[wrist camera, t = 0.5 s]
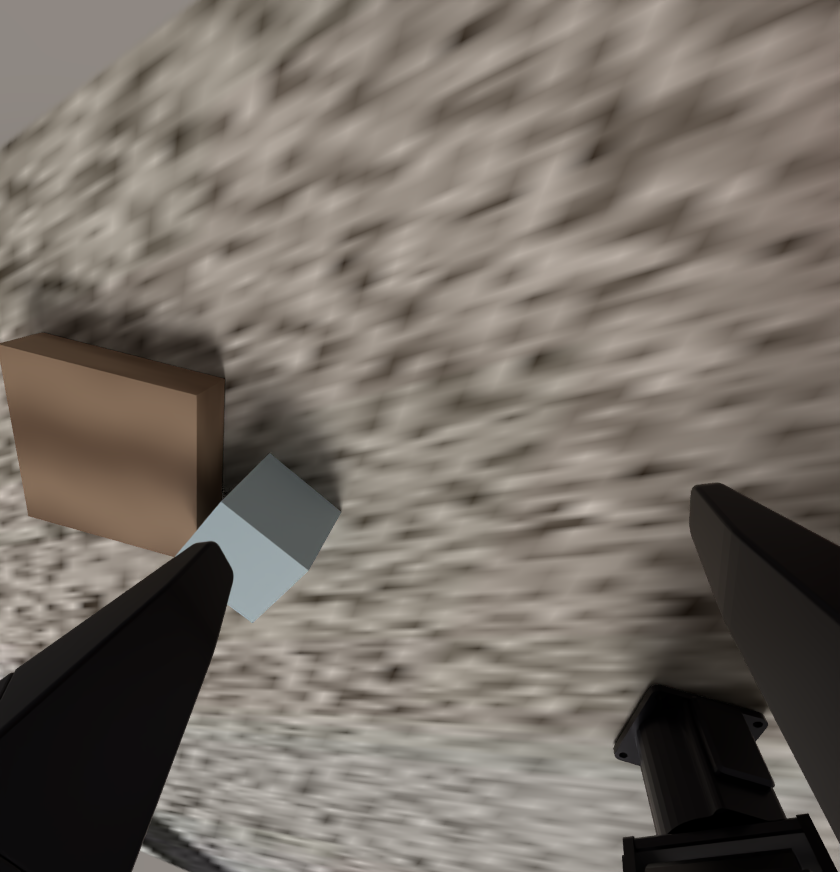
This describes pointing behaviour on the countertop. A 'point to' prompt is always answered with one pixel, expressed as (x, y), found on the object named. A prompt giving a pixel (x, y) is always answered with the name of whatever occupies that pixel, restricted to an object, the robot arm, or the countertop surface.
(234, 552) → the block
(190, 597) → the robot arm
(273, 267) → the countertop surface
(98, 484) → the board
